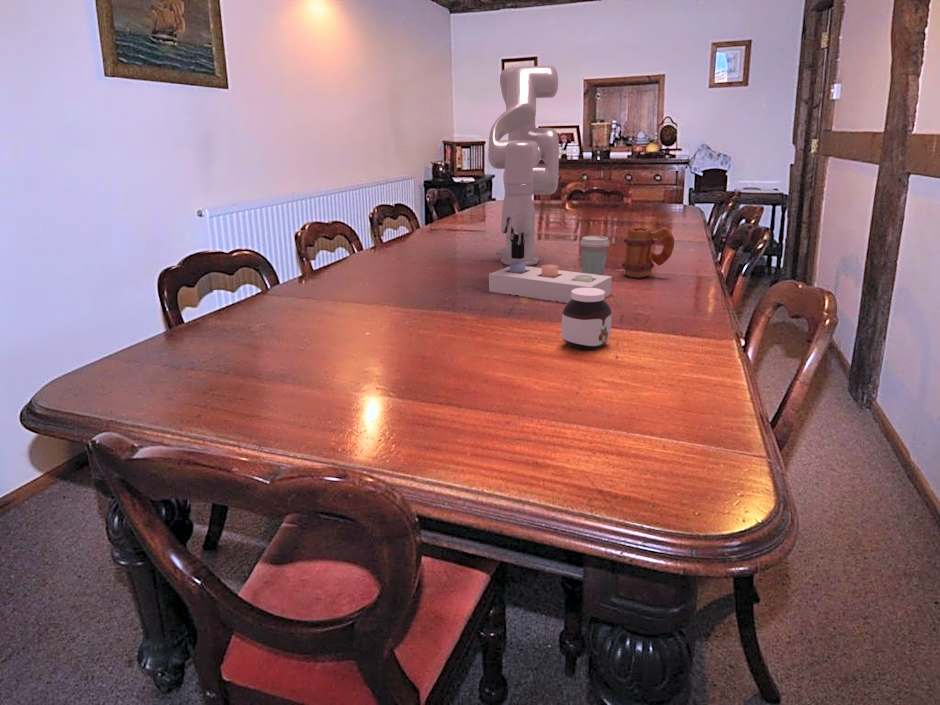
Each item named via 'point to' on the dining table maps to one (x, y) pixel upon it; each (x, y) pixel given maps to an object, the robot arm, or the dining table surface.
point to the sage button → (583, 278)
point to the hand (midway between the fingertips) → (517, 258)
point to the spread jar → (586, 319)
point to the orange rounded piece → (549, 271)
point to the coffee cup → (594, 254)
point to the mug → (646, 250)
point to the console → (544, 284)
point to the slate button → (517, 267)
